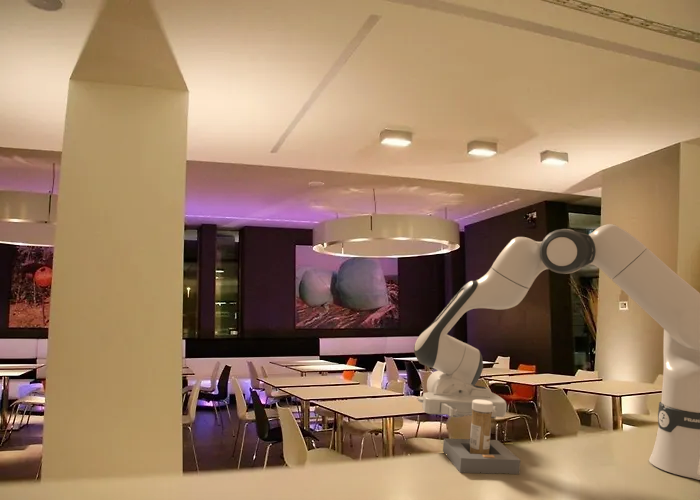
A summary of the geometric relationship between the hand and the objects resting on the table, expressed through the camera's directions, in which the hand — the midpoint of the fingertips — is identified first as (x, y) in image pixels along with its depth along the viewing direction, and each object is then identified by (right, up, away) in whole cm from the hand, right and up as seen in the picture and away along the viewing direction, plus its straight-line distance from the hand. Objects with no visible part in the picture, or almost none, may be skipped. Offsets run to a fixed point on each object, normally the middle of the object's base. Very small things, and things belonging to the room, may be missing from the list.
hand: (473, 413), depth 139 cm
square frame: (0, -9, -5) cm, 11 cm away
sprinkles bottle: (0, -9, -5) cm, 11 cm away
